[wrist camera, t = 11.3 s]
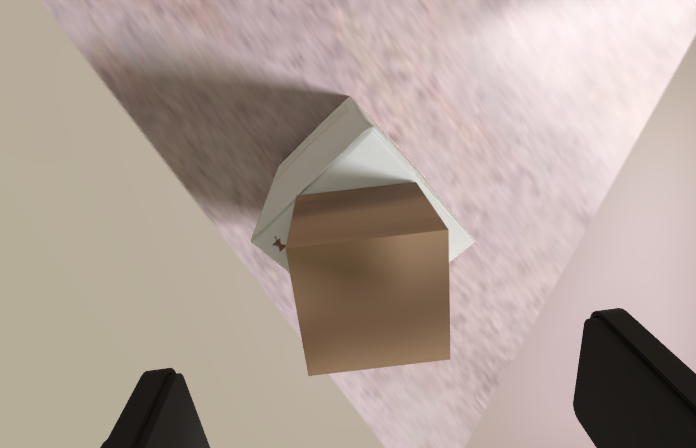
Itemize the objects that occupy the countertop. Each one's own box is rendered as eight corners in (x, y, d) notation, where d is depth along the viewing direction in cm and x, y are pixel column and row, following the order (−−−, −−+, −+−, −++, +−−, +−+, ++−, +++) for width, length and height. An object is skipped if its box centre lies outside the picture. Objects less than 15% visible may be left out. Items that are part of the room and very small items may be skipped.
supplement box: (346, 234, 32) (358, 340, 20) (275, 165, 30) (242, 240, 18) (421, 169, 30) (480, 244, 19) (352, 91, 28) (370, 121, 16)
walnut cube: (296, 195, 17) (285, 248, 13) (416, 181, 17) (448, 229, 13) (312, 297, 19) (308, 375, 15) (420, 285, 19) (450, 359, 15)
